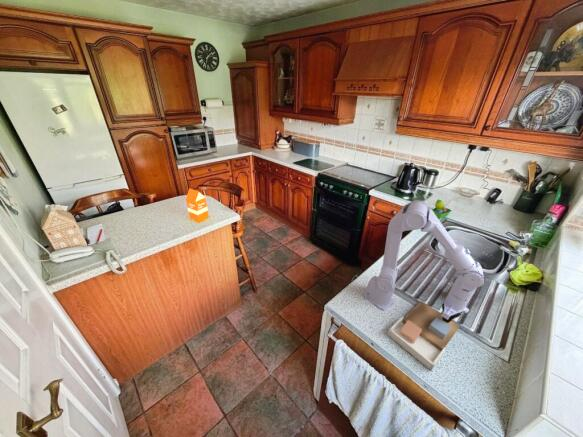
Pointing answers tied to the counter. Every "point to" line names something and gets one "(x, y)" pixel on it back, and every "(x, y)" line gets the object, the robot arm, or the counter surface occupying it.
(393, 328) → the tray
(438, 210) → the fruit basket
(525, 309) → the counter surface
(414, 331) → the terracotta tile
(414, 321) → the oak board
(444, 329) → the slate tile
